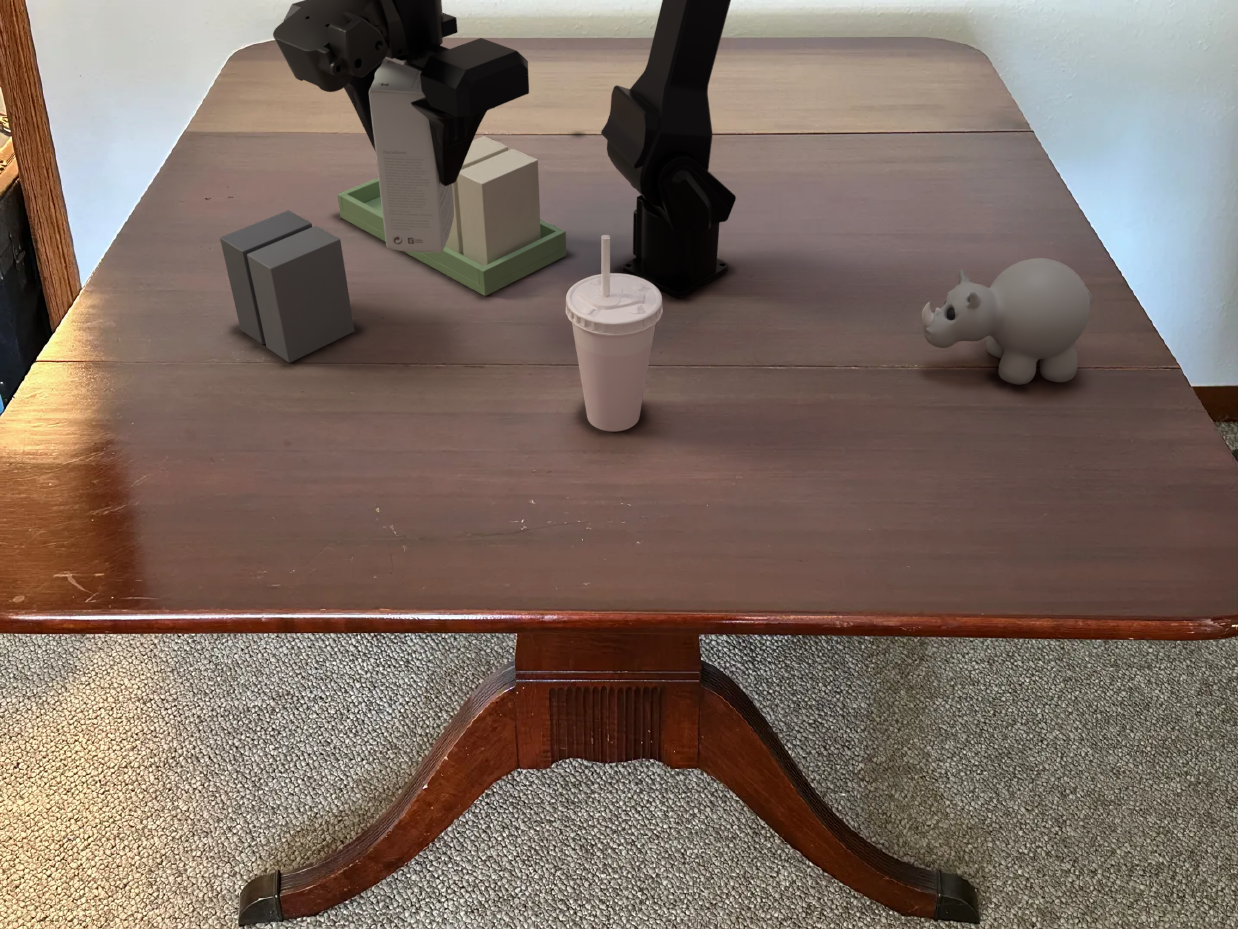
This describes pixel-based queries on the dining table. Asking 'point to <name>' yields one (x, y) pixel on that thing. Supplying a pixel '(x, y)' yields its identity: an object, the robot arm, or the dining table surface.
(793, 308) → the dining table surface
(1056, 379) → the toy rhinoceros
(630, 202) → the dining table surface
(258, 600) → the dining table surface
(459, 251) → the cream books
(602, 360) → the smoothie
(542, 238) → the green tray
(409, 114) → the cosmetic box
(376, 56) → the robot arm
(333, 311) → the grey books
